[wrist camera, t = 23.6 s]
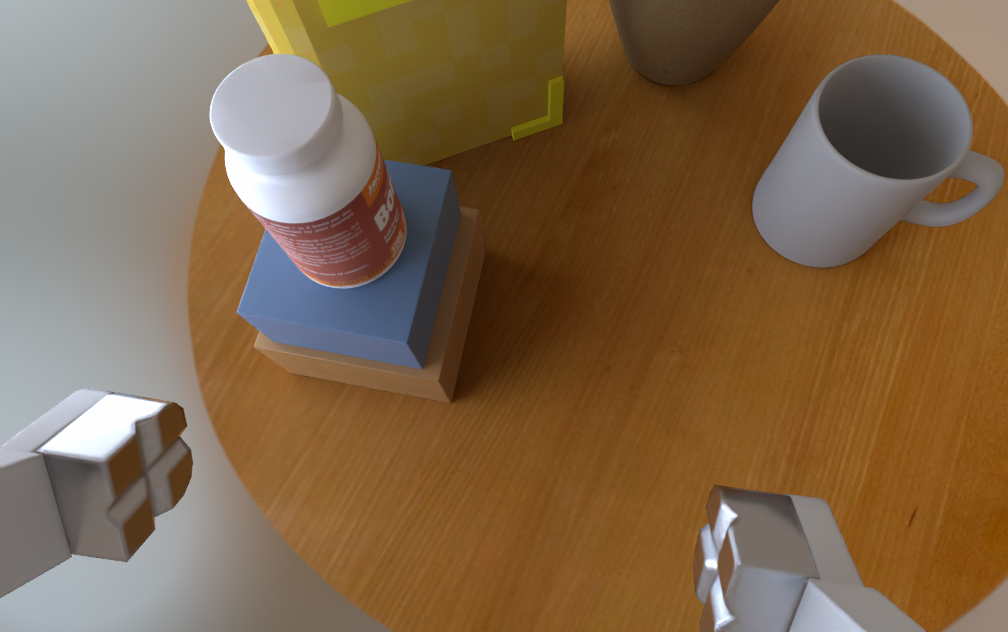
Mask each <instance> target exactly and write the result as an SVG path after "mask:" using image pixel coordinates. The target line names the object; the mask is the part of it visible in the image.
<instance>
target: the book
mask: <svg viewBox="0 0 1008 632" xmlns="http://www.w3.org/2000/svg"><path fill="white" fill-rule="evenodd" d="M246 1H247V3H248V4H249V6H250V8H251V10H252V12H253V14H254V16H255V18H256V20H257V21H258V23H259V25H260V27H261V29H262V31H263V33H264V35H265V37H266V39H267V41H268V43H269V44H270V46H271V48H272V50H273V52H274V54H289V55H295V56H299V57H302V58H306V59H308V60H310V61H311V62H313V63H315V64H316V65H318V66H319V67H320V68H321V69H322V70H323V71H324V72H325V73H326V74H327V76H328V78H329V79H330V81H331V83H332V85H333V87H334V89H335V91H336V93H337V94H340V95H341V96H343V97H345V98H346V99H347V100H349V101H350V102H351V103H352V104H354V105H355V106H356V107H357V108H358V109H359V111H360V112H361V113H362V114H363V115H364V117H365V119H366V120H367V122H368V124H369V126H370V128H371V130H372V132H373V135H374V137H375V140H376V142H377V145H378V147H379V150H380V152H381V155H382V157H383V160H389V161H396V162H402V163H409V164H415V165H422V166H424V165H427V164H430V163H433V162H436V161H439V160H442V159H445V158H447V157H450V156H453V155H456V154H459V153H462V152H465V151H468V150H471V149H474V148H477V147H480V146H482V145H485V144H488V143H491V142H494V141H497V140H500V139H503V138H506V137H509V136H512V138H513V140H517V139H520V138H523V137H526V136H529V135H532V134H535V133H538V132H541V131H544V130H546V129H549V128H552V127H555V126H558V125H561V124H562V121H563V115H562V113H563V97H564V79H563V77H562V72H563V55H564V37H565V20H566V2H567V0H246Z"/></svg>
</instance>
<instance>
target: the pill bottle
mask: <svg viewBox="0 0 1008 632" xmlns="http://www.w3.org/2000/svg"><path fill="white" fill-rule="evenodd" d="M210 121H211V125H212V128H213V131H214V133H215V135H216V137H217V139H218V140H219V141H220V143H221V144H222V145H223V147H224V148H225V165H226V170H227V174H228V177H229V180H230V182H231V184H232V186H233V188H234V190H235V191H236V193H237V194H238V195H239V197H240V198H241V200H242V201H243V202H244V203H245V205H246V206H247V207H248V208H249V209H250V211H251V212H252V213H253V214H254V215H255V216H256V218H257V219H258V220H259V221H260V222H261V224H262V225H263V226H264V227H265V228H266V229H267V231H268V232H269V233H270V234H271V236H272V237H273V238H274V239H275V240H276V242H277V243H278V244H279V245H280V246H281V248H282V249H283V250H284V251H285V253H286V254H287V255H288V256H289V258H290V259H291V260H292V261H293V263H294V264H295V265H296V266H297V267H298V268H299V269H300V270H301V271H302V272H303V273H304V274H305V275H306V276H307V277H309V278H310V279H311V280H313V281H315V282H317V283H319V284H321V285H324V286H327V287H332V288H340V289H347V288H354V287H359V286H362V285H365V284H368V283H370V282H372V281H374V280H376V279H377V278H379V277H381V276H382V275H383V274H384V273H386V272H387V271H388V270H389V269H390V268H391V267H392V266H393V265H394V263H395V262H396V261H397V259H398V258H399V256H400V254H401V252H402V250H403V247H404V244H405V240H406V233H407V226H406V219H405V215H404V212H403V209H402V206H401V204H400V201H399V198H398V196H397V193H396V191H395V188H394V185H393V183H392V180H391V177H390V175H389V172H388V170H387V167H386V165H385V162H384V160H383V157H382V155H381V152H380V150H379V147H378V145H377V142H376V140H375V137H374V135H373V132H372V130H371V128H370V126H369V124H368V122H367V120H366V119H365V117H364V115H363V114H362V113H361V112H360V111H359V109H358V108H357V107H356V106H355V105H354V104H352V103H351V102H350V101H349V100H347V99H346V98H345V97H343V96H341V95H340V94H337V93H336V91H335V89H334V87H333V85H332V83H331V81H330V79H329V78H328V76H327V74H326V73H325V72H324V71H323V70H322V69H321V68H320V67H319V66H318V65H316V64H315V63H313V62H311V61H310V60H308V59H306V58H302V57H299V56H295V55H289V54H273V55H267V56H262V57H258V58H255V59H253V60H251V61H248V62H246V63H244V64H243V65H241V66H239V67H238V68H236V69H235V70H233V71H232V72H231V73H230V74H229V75H228V76H227V77H226V78H225V79H224V80H223V81H222V82H221V84H220V85H219V87H218V88H217V90H216V92H215V94H214V97H213V99H212V102H211V108H210Z"/></svg>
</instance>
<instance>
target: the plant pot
mask: <svg viewBox="0 0 1008 632" xmlns="http://www.w3.org/2000/svg"><path fill="white" fill-rule="evenodd" d="M778 1H779V0H609V2H610V6H611V10H612V13H613V17H614V20H615V24H616V27H617V30H618V33H619V36H620V39H621V42H622V45H623V47H624V50H625V52H626V55H627V57H628V60H629V61H630V63H631V65H632V66H633V67H634V68H635V69H636V70H637V71H638V72H639V73H640V74H641V75H643V76H644V77H646V78H648V79H650V80H652V81H654V82H657V83H660V84H665V85H686V84H690V83H694V82H697V81H699V80H701V79H703V78H705V77H706V76H708V75H709V74H710V73H711V72H713V71H714V70H715V69H716V68H717V67H718V66H719V65H720V64H721V63H723V62H724V61H725V60H726V59H727V58H728V57H729V56H730V55H731V54H732V53H733V52H734V51H735V50H736V49H737V48H738V47H739V46H740V45H741V44H742V43H743V42H744V41H745V40H746V39H747V38H748V37H749V36H750V34H751V33H752V32H753V31H754V30H755V29H756V28H757V27H758V25H759V24H760V23H761V22H762V21H763V20H764V18H765V17H766V16H767V15H768V14H769V12H770V11H771V10H772V9H773V8H774V6H775V5H776V4H777V3H778Z"/></svg>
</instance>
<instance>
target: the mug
mask: <svg viewBox="0 0 1008 632" xmlns="http://www.w3.org/2000/svg"><path fill="white" fill-rule="evenodd" d="M972 138H973V120H972V116H971V112H970V109H969V107H968V104H967V102H966V101H965V99H964V97H963V95H962V94H961V93H960V91H959V90H958V89H957V88H956V86H955V85H954V84H953V83H952V82H951V81H950V80H948V79H947V78H946V77H945V76H944V75H942V74H941V73H940V72H938V71H937V70H935V69H933V68H932V67H930V66H928V65H926V64H924V63H921V62H919V61H916V60H913V59H910V58H907V57H902V56H897V55H887V54H876V55H867V56H862V57H858V58H855V59H852V60H849V61H847V62H845V63H843V64H841V65H839V66H838V67H836V68H835V69H834V70H832V71H831V72H830V73H829V74H828V75H827V76H826V77H825V78H824V79H823V80H822V82H821V83H820V84H819V85H818V87H817V88H816V90H815V91H814V93H813V95H812V96H811V98H810V100H809V101H808V103H807V105H806V106H805V108H804V110H803V111H802V113H801V114H800V116H799V118H798V119H797V121H796V123H795V124H794V126H793V128H792V129H791V131H790V133H789V134H788V136H787V137H786V139H785V141H784V142H783V144H782V146H781V147H780V149H779V151H778V152H777V154H776V155H775V157H774V159H773V160H772V162H771V163H770V165H769V166H768V168H767V169H766V171H765V172H764V174H763V175H762V177H761V179H760V180H759V182H758V184H757V186H756V189H755V192H754V196H753V201H752V211H753V217H754V221H755V224H756V227H757V229H758V231H759V233H760V234H761V236H762V237H763V239H764V240H765V241H766V243H767V244H768V245H769V246H770V247H771V248H772V249H774V250H775V251H776V252H777V253H779V254H780V255H782V256H783V257H785V258H787V259H789V260H791V261H793V262H795V263H798V264H801V265H805V266H809V267H817V268H828V267H835V266H840V265H843V264H846V263H848V262H851V261H853V260H855V259H857V258H858V257H860V256H861V255H862V254H864V253H865V252H866V251H867V250H868V249H870V248H871V247H872V246H873V245H874V244H875V243H876V242H877V241H878V240H879V239H880V238H881V237H882V236H883V235H884V234H885V233H886V232H887V231H889V230H890V229H891V228H892V227H893V226H894V225H895V224H896V223H897V222H898V221H899V220H900V221H904V222H909V223H913V224H918V225H923V226H930V227H943V226H949V225H953V224H956V223H959V222H961V221H963V220H966V219H967V218H969V217H971V216H973V215H975V214H976V213H978V212H979V211H980V210H982V209H983V208H984V207H985V206H987V205H988V204H989V203H990V202H991V201H992V200H993V199H994V197H995V196H996V195H997V194H998V192H999V190H1000V189H1001V187H1002V184H1003V181H1004V177H1005V176H1004V170H1003V167H1002V166H1001V165H1000V164H999V163H998V162H997V161H996V160H994V159H992V158H990V157H988V156H985V155H983V154H980V153H977V152H974V151H971V150H969V148H970V146H971V142H972ZM946 178H956V179H962V180H967V181H970V182H973V183H975V184H977V185H978V186H977V187H976V188H975V189H974V190H973V191H972V192H970V193H969V194H968V195H966V196H964V197H963V198H961V199H958V200H956V201H953V202H950V203H943V204H942V203H931V202H927V201H924V200H923V199H924V198H925V197H926V196H927V195H928V194H929V193H930V192H932V191H933V190H934V189H935V188H936V187H937V186H938V185H939V184H940V183H942V182H943V181H944V180H945V179H946Z"/></svg>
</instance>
